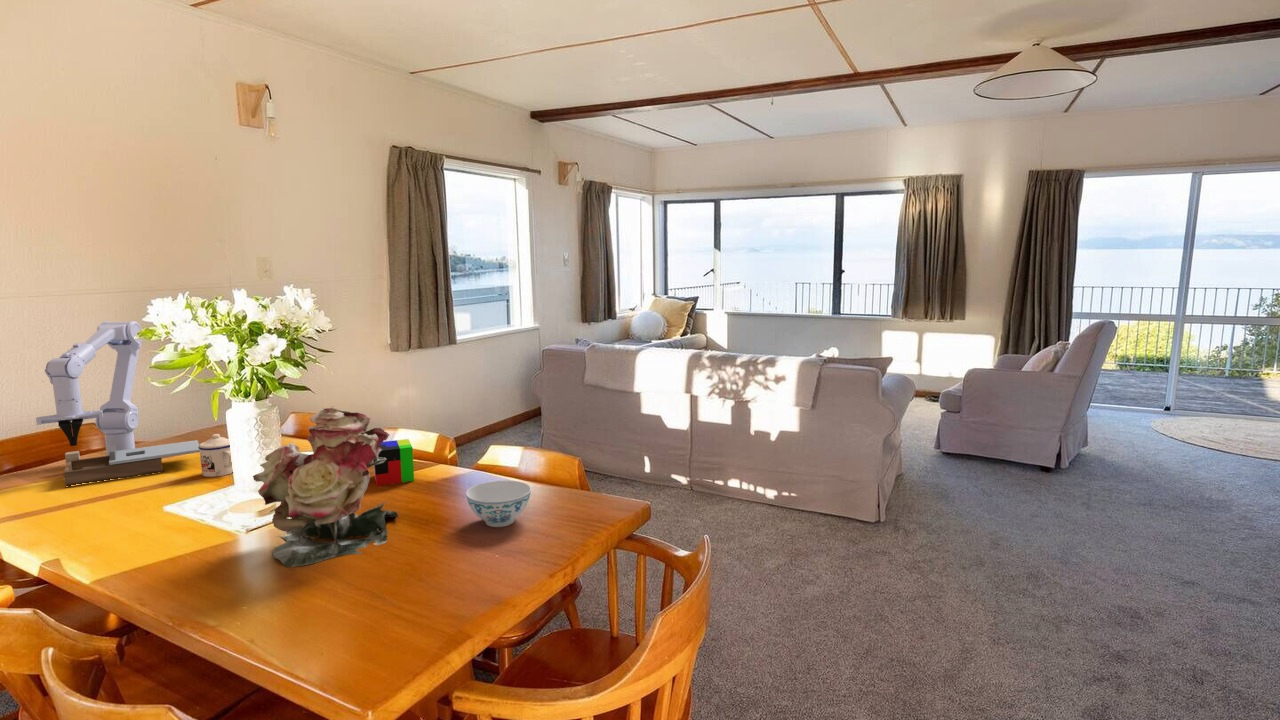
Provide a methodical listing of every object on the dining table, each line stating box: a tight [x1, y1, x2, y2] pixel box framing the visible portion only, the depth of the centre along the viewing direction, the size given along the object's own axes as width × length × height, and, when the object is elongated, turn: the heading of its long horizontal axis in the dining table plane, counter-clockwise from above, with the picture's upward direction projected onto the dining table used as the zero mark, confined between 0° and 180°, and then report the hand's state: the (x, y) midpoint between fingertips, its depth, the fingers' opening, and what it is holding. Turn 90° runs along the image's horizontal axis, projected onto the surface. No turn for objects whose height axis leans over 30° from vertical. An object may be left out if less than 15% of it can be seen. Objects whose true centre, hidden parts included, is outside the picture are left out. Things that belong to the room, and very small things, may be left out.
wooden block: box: [64, 450, 81, 466], centre depth 197 cm, size 3×3×6 cm
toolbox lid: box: [109, 439, 200, 465], centre depth 201 cm, size 14×22×3 cm, turn 127°
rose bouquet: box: [252, 406, 400, 568], centre depth 144 cm, size 26×29×30 cm
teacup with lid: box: [198, 433, 233, 478], centre depth 195 cm, size 12×9×12 cm
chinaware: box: [465, 480, 532, 528], centre depth 157 cm, size 15×15×8 cm
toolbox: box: [63, 453, 164, 487], centre depth 195 cm, size 14×22×4 cm, turn 127°
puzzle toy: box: [373, 438, 415, 487], centre depth 190 cm, size 10×10×10 cm
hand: (73, 445), depth 192 cm, fingers closed
